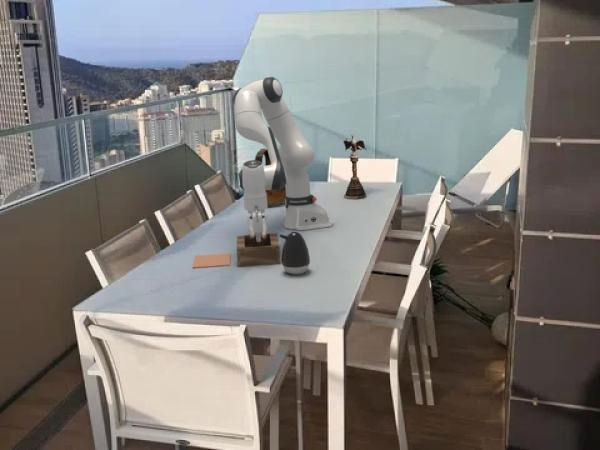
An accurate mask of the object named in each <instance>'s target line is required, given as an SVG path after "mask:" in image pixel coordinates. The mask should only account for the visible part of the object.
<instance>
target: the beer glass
mask: <svg viewBox="0 0 600 450" xmlns="http://www.w3.org/2000/svg"><path fill="white" fill-rule="evenodd" d="M262 222H263V233H261V242H257V241H256V234H254V232H253V222H252V216H251V215H250V216H248V233H249V234H248V235H250V238H251V242H252V247H260V246H266V236H267V234H268V226H267V218H266V216H265V215H263V214H262Z"/></svg>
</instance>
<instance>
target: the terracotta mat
mask: <svg viewBox="0 0 600 450" xmlns="http://www.w3.org/2000/svg"><path fill="white" fill-rule="evenodd" d="M192 263H193V264H192V269H203V268H217V267H230V266H231V253H216V254H215V253H214V254H203V255H195V256H194V259H193V262H192Z"/></svg>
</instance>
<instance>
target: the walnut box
mask: <svg viewBox="0 0 600 450" xmlns="http://www.w3.org/2000/svg"><path fill="white" fill-rule="evenodd" d="M280 253H281V251H280V243H279V236H278V233H277V232H271V233H270V232H269V233H267V236H266V246H260V247H252V242H251V238H250V234H244V235H243V234H242V235H236V258H237V259H236V260H237V268H239V267H253V266H255V267H256V266H268V265H281V254H280Z"/></svg>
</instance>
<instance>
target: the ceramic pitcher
mask: <svg viewBox="0 0 600 450" xmlns="http://www.w3.org/2000/svg"><path fill="white" fill-rule="evenodd" d="M263 157H264V160H265V161H264V162H265V164H264V166H267V165H271V161H270V157H269V154H268V150H267V148H260V150H258V152H256V155H255V158H254V160H257V161H260V162H262V163H263ZM265 191H266V194H267V205H268V206H278V205H280V204H283V203H285V196H286V188H285V186H284V187H283V188H282V189H281V190H265Z"/></svg>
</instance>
